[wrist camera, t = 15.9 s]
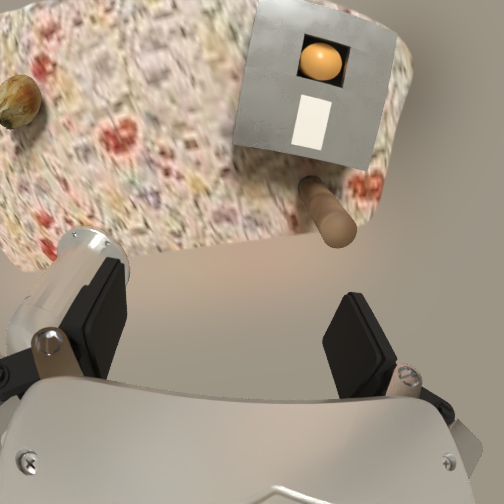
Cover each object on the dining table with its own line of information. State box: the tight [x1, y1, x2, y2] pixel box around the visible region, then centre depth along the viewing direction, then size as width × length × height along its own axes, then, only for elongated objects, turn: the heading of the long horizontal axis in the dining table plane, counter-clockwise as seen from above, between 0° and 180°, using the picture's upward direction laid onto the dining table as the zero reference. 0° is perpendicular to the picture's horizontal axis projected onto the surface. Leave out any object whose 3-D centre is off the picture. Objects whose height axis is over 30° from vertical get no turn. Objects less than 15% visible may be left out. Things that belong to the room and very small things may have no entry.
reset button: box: [297, 43, 342, 81], centre depth 24 cm, size 4×4×4 cm
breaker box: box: [232, 0, 397, 171], centre depth 25 cm, size 16×14×6 cm
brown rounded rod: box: [298, 176, 357, 248], centre depth 30 cm, size 3×3×12 cm
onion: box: [0, 75, 41, 130], centre depth 22 cm, size 8×8×8 cm
